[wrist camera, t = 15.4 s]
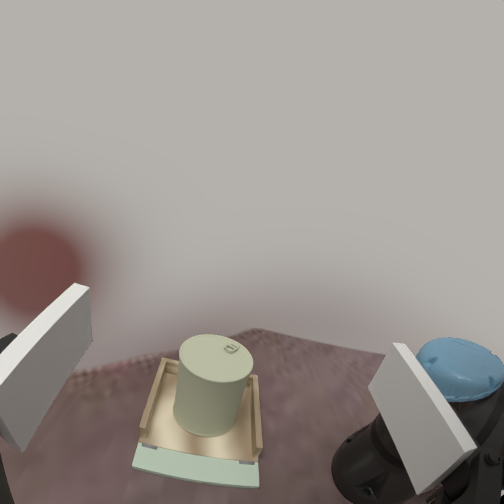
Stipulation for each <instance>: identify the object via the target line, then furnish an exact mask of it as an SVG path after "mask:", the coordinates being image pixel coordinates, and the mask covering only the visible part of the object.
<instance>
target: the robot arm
mask: <svg viewBox="0 0 504 504" xmlns="http://www.w3.org/2000/svg"><path fill="white" fill-rule="evenodd" d="M92 342H93V339H92V326H91V309H90V288H89V287H86V286H82V285H79V284H76V283H74V284H73V285H72V286H71V287H69V289H67V290H66V291H65V292H64V293H63V294H62V295H60V296H59V298H57V299H56V300H55V301H54V302H53V303H52V304H51V305H49V306H48V307H47V308H46V309H45V310H44V311H43V312H42V313H41V314H40V315H39V316H38V317H37V318H36V319H35V320H34V321H32V323H30V324H29V325H28V326H27V327H26V328H25V329H24V330H23V331H22V332H21V333H20V334H19V335H16V334H13V333H11V334H9V335H7V336H5V337H3V338H1V339H0V434H1V436H2V437H3V439H4V440H5V442H6V443H7V444H9V445H11V446H12V447H14V448H15V449H17V450H19V451H20V452H22V453H24V451H25V449H26V447H27V445H28V444H29V442H30V440H31V438H32V436H33V435H34V433H35V431H36V429H37V428H38V426H39V424H40V422H41V421H42V419H43V417H44V416H45V414H46V412H47V411H48V409H49V407H50V406H51V404H52V402H53V401H54V399H55V398H56V396H57V394H58V393H59V391H60V390H61V388H62V386H63V385H64V383H65V382H66V380H67V379H68V377H69V376H70V374H71V373H72V371H73V370H74V368H75V367H76V365H77V364H78V362H79V361H80V359H81V358H82V356H83V355H84V353H85V352H86V350H87V349H88V347H89V346H90V345H91V343H92ZM368 388H369V390H370V392H371V394H372V396H373V399H374V401H375V403H376V405H377V407H378V409H379V411H380V413H379V414H378V416H377V417H376V418H375V420H374V421H373V422H371V423H370V424H368V425H366V426H365V427H363V428H362V429H360V430H359V431H357V432H355V433H354V434H352V435H351V436H349V437H348V438H347V439H346V440H345V441H344V442H343V443H342V445H341V446H340V447H339V448H338V450H337V451H336V453H335V455H334V457H333V461H332V475H333V479H334V481H335V484H336V486H337V487H338V489H339V490H340V492H341V493H342V494H343V495H344V496H345V497H346V498H347V499H348V500H350V501H351V502H353V503H354V504H402V503H403V502H405V501H406V500H407V499H409V498H410V497H411V496H412V495H414V493H415V492H416V494H417V495H419V494H422V493H425V492H428V491H430V490H432V489H433V488H434V487H436V486H437V485H438V484H439V483H440V482H441V483H442V485H443V487H441V488H440V489H439V490H438V491H436V492H435V493H434V494H433V495H431V496H430V497H429V498H428V499H427V501H426V502H427V503H428V502H429V501H431V500H432V499H433V498H435V497H436V499H435V500H434V501H432V502H431V504H504V495H503V496H501V490H504V364H503V362H502V361H501V360H500V359H499V358H498V357H497V356H496V355H493V354H491V351H489V350H488V349H486V348H485V347H483V346H481V345H478V344H476V343H474V342H471V341H467V340H463V339H459V338H451V337H448V338H437V339H434V340H432V341H429V342H428V343H426V344H425V345H424V346H423V347H422V348H421V349H420V351H419V352H418V354H417V356H416V357H414V355H413V354H412V353H411V351H410V350H409V349H408V347H407V346H406V345H405V344H401V343H392V345H391V347H390V348H389V351H388V352H387V354H386V356H385V358H384V360H383V362H382V363H381V365H380V367H379V369H378V371H377V372H376V374H375V376H374V378H373V379H372V381H371V383H370V384H369V386H368ZM0 504H14V501H13V498H12V495H11V492H10V488H9V485H8V482H7V478H6V475H5V471H4V467H3V463H2V459H1V454H0Z"/></svg>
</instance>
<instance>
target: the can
mask: <svg viewBox="0 0 504 504" xmlns="http://www.w3.org/2000/svg"><path fill="white" fill-rule="evenodd" d="M252 369H253V359H252V356H251V354H250V353H249V351H248V350H247V349H246V348H245V347H244V346H242V345H241V344H240V343H238V342H236V341H234V340H232V339H230V338H227V337H224V336H219V335H211V334H210V335H209V334H208V335H207V334H205V335H197V336H194V337H191V338H189V339H187V340H186V341H185V342H184V343H183V344H182V345H181V347H180V351H179V366H178V376H177V385H176V394H175V402H174V405H173V415H174V417H175V420H176V421H177V423H178V424H179V425H180V426H181V427H182V428H183V429H185V430H186V431H188V432H190V433H192V434H194V435H197V436H202V437H216V436H220V435H222V434H225V433H226V432H228V431H229V430H230V429H231V428H232V427H233V426H234V424H235V421H236V414H237V411H238V408H239V405H240V402H241V399H242V396H243V393H244V390H245V387H246V384H247V381H248V378H249V375H250V373H251V371H252Z"/></svg>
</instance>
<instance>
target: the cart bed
mask: <svg viewBox="0 0 504 504" xmlns="http://www.w3.org/2000/svg"><path fill="white" fill-rule="evenodd" d="M178 366H179V361H176V360H171V359H167V358H163V357H162V360H161V363H160V366H159V368H158V371H157V374H156V377H155V380H154V383H153V386H152V389H151V392H150V395H149V398H148V401H147V404H146V407H145V410H144V413H143V416H142V419H141V423H140V426H139V432H140V438H139V442H140V443H146V444H150V445H154V446H157V447H159V448H163V449H168V450H172V451H177V452H182V453H187V454H193V455H199V456H205V457H211V458H219V459H226V460H235V461H239V460H242V461H254V462H258V456H259V454H260V453H261V451H262V449H263V444H262V430H261V417H260V403H259V389H258V375H252V374H250V375H249V378H248V381H247V384H246V387H245V390H244V393H243V396H242V399H241V402H240V405H239V408H238V411H237V414H236V421H235V424H234V426H233V427H232V428H231V429H230V430H229V431H228V432H226V433H225V434H222V435H220V436H216V437H202V436H197V435H194V434H192V433H190V432H188V431H186V430H185V429H183V428H182V427H181V426H180V425H179V424H178V423H177V421H176V420H175V417H174V415H173V405H174V402H175V394H176V385H177V376H178Z"/></svg>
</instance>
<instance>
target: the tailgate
mask: <svg viewBox="0 0 504 504" xmlns="http://www.w3.org/2000/svg"><path fill="white" fill-rule="evenodd" d="M132 468H133V469H136V470H140V471H144V472H148V473H152V474H156V475H160V476H164V477H169V478H174V479H179V480H184V481H190V482H196V483H202V484H210V485H217V486H226V487H237V488H252V489H258V488H259V471H258V462H254V461H242V460H239V461H235V460H226V459H219V458H211V457H205V456H199V455H193V454H187V453H182V452H177V451H172V450H168V449H163V448H159V447H157V446H154V445H150V444H146V443H140V442H139V443H138V446H137V450H136V453H135V457H134V460H133V464H132Z"/></svg>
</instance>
